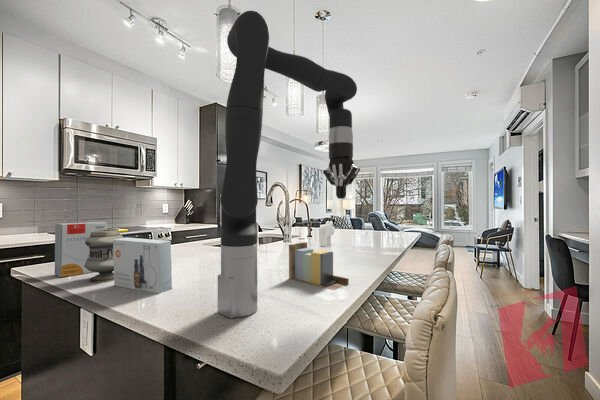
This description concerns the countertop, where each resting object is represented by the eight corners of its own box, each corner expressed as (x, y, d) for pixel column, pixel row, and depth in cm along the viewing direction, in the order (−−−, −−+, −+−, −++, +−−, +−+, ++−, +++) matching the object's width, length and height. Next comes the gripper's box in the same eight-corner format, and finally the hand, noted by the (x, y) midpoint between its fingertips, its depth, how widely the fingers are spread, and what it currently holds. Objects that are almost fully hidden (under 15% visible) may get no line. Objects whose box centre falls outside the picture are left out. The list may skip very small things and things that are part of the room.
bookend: (327, 286, 89) (327, 254, 89) (320, 284, 91) (320, 253, 91) (337, 282, 93) (337, 252, 93) (330, 281, 95) (330, 251, 95)
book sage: (311, 282, 94) (310, 255, 94) (303, 280, 96) (303, 254, 96) (321, 279, 98) (321, 253, 98) (313, 277, 100) (313, 251, 100)
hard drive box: (59, 278, 105) (59, 224, 105) (54, 275, 110) (53, 223, 110) (107, 270, 117) (107, 221, 117) (100, 267, 122) (100, 221, 122)
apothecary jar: (76, 282, 100) (76, 231, 100) (106, 273, 112) (106, 227, 112) (104, 284, 97) (104, 231, 97) (132, 275, 109) (132, 228, 109)
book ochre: (320, 284, 91) (320, 253, 91) (310, 282, 94) (310, 252, 94) (330, 281, 95) (330, 251, 95) (321, 279, 98) (321, 250, 98)
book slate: (303, 280, 96) (303, 251, 96) (294, 278, 99) (294, 249, 99) (313, 277, 100) (313, 249, 100) (305, 275, 103) (305, 247, 103)
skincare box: (112, 286, 95) (111, 239, 95) (127, 282, 100) (127, 237, 100) (158, 294, 87) (158, 242, 87) (172, 289, 92) (172, 240, 92)
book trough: (333, 293, 86) (333, 251, 86) (289, 281, 99) (288, 244, 99) (348, 287, 92) (348, 247, 92) (305, 277, 105) (304, 242, 105)
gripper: (365, 142, 87) (365, 198, 87) (330, 147, 96) (331, 198, 96) (352, 138, 82) (352, 198, 82) (316, 144, 91) (317, 198, 91)
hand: (341, 198), depth 89 cm, fingers closed
